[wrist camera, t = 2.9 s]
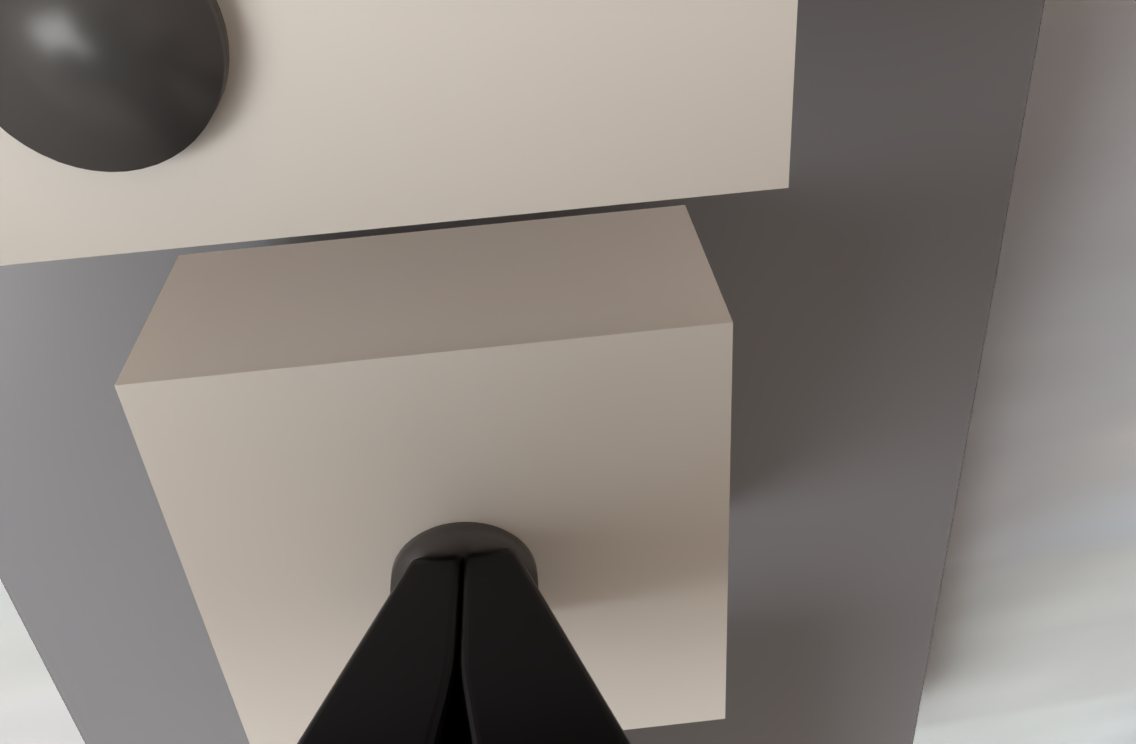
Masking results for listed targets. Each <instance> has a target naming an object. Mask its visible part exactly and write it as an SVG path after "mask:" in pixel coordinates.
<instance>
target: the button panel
mask: <svg viewBox="0 0 1136 744" xmlns="http://www.w3.org/2000/svg"><path fill="white" fill-rule="evenodd" d="M1044 1H1045V0H798V7H797V27H796V47H795V67H794V87H793V107H792V127H791V147H790V167H789V187H788V188H782V189H771V190H761V191H751V192H741V193H731V194H721V195H711V196H701V197H691V198H680V199H670V200H660V201H650V202H640V203H630V204H620V205H610V206H600V207H589V208H579V209H569V210H559V211H549V212H539V213H529V214H519V215H509V216H498V217H488V218H478V219H468V220H458V221H448V222H438V223H428V224H418V225H407V226H397V227H387V228H377V229H367V230H357V231H347V232H337V233H327V234H316V235H306V236H296V237H286V238H276V239H266V240H256V241H246V242H236V243H225V244H215V245H205V246H195V247H185V248H175V249H165V250H155V251H145V252H134V253H124V254H114V255H104V256H94V257H84V258H74V259H64V260H54V261H43V262H33V263H23V264H13V265H3V266H0V579H1V581H2V583H3V585H4V587H5V589H6V591H7V593H8V594H9V596H10V598H11V600H12V602H13V604H14V606H15V608H16V610H17V612H18V614H19V616H20V618H21V620H22V622H23V624H24V626H25V627H26V629H27V631H28V633H29V635H30V637H31V639H32V641H33V643H34V645H35V647H36V649H37V651H38V653H39V655H40V657H41V658H42V660H43V662H44V664H45V666H46V668H47V670H48V672H49V674H50V676H51V678H52V680H53V682H54V684H55V686H56V688H57V690H58V691H59V693H60V695H61V697H62V699H63V701H64V703H65V705H66V707H67V709H68V711H69V713H70V715H71V717H72V719H73V721H74V722H75V724H76V726H77V728H78V730H79V732H80V734H81V736H82V738H83V740H84V742H85V744H250V743H249V740H248V738H247V735H246V733H245V730H244V727H243V725H242V722H241V719H240V717H239V714H238V711H237V709H236V706H235V703H234V701H233V698H232V696H231V693H230V690H229V688H228V685H227V682H226V680H225V677H224V674H223V672H222V669H221V666H220V664H219V661H218V658H217V656H216V653H215V651H214V648H213V645H212V643H211V640H210V637H209V635H208V632H207V629H206V627H205V624H204V621H203V619H202V616H201V614H200V611H199V608H198V606H197V603H196V600H195V598H194V595H193V592H192V590H191V587H190V584H189V582H188V579H187V576H186V574H185V571H184V569H183V566H182V563H181V561H180V558H179V555H178V553H177V550H176V547H175V545H174V542H173V539H172V537H171V534H170V532H169V529H168V526H167V524H166V521H165V518H164V516H163V513H162V510H161V508H160V505H159V502H158V500H157V497H156V494H155V492H154V489H153V487H152V484H151V481H150V479H149V476H148V473H147V471H146V468H145V465H144V463H143V460H142V457H141V455H140V452H139V450H138V447H137V444H136V442H135V439H134V436H133V434H132V431H131V428H130V426H129V423H128V420H127V418H126V415H125V412H124V410H123V407H122V405H121V402H120V399H119V397H118V394H117V391H116V389H115V386H114V385H115V383H116V381H117V379H118V377H119V375H120V373H121V371H122V369H123V367H124V365H125V363H126V361H127V359H128V357H129V355H130V353H131V351H132V349H133V347H134V345H135V343H136V341H137V339H138V337H139V335H140V333H141V331H142V329H143V327H144V325H145V323H146V321H147V319H148V317H149V315H150V313H151V310H152V308H153V306H154V304H155V302H156V300H157V298H158V296H159V294H160V292H161V290H162V288H163V286H164V284H165V282H166V280H167V278H168V276H169V274H170V272H171V270H172V268H173V266H174V264H175V262H176V260H177V258H178V256H179V255H185V254H195V253H205V252H215V251H225V250H235V249H245V248H255V247H265V246H275V245H285V244H296V243H306V242H316V241H326V240H336V239H346V238H356V237H366V236H376V235H386V234H396V233H407V232H417V231H427V230H437V229H447V228H457V227H467V226H477V225H487V224H497V223H508V222H518V221H528V220H538V219H548V218H558V217H568V216H578V215H588V214H598V213H608V212H619V211H629V210H639V209H649V208H659V207H669V206H679V205H685V206H686V208H687V211H688V213H689V216H690V218H691V221H692V223H693V226H694V228H695V230H696V233H697V235H698V238H699V240H700V243H701V245H702V248H703V250H704V253H705V255H706V257H707V260H708V262H709V265H710V267H711V270H712V272H713V275H714V277H715V279H716V282H717V284H718V287H719V289H720V292H721V294H722V297H723V299H724V301H725V304H726V306H727V309H728V311H729V314H730V316H731V319H732V321H733V349H732V399H731V449H730V499H729V550H728V600H727V650H726V701H725V719H718V720H709V721H700V722H691V723H682V724H673V725H664V726H655V727H646V728H637V729H629V730H623V731H624V733H625V734H626V736H627V738H628V739H629V741H630V743H631V744H913V740H914V734H915V728H916V723H917V717H918V711H919V706H920V700H921V694H922V689H923V683H924V678H925V672H926V666H927V661H928V655H929V649H930V644H931V638H932V632H933V627H934V621H935V616H936V610H937V604H938V599H939V593H940V587H941V582H942V576H943V570H944V565H945V559H946V554H947V548H948V542H949V537H950V531H951V525H952V520H953V514H954V509H955V503H956V497H957V492H958V486H959V480H960V475H961V469H962V463H963V458H964V452H965V447H966V441H967V435H968V430H969V424H970V418H971V413H972V407H973V401H974V396H975V390H976V385H977V379H978V373H979V368H980V362H981V356H982V351H983V345H984V340H985V334H986V328H987V323H988V317H989V311H990V306H991V300H992V294H993V289H994V283H995V278H996V272H997V266H998V261H999V255H1000V249H1001V244H1002V238H1003V232H1004V227H1005V221H1006V216H1007V210H1008V204H1009V199H1010V193H1011V187H1012V182H1013V176H1014V170H1015V165H1016V159H1017V154H1018V148H1019V142H1020V137H1021V131H1022V125H1023V120H1024V114H1025V109H1026V103H1027V97H1028V92H1029V86H1030V80H1031V75H1032V69H1033V63H1034V58H1035V52H1036V47H1037V41H1038V35H1039V30H1040V24H1041V18H1042V13H1043V7H1044Z"/></svg>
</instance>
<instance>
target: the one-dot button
mask: <svg viewBox="0 0 1136 744" xmlns="http://www.w3.org/2000/svg"><path fill="white" fill-rule="evenodd" d="M732 349H733V321H732V319H731V316H730V314H729V311H728V309H727V306H726V304H725V301H724V299H723V297H722V294H721V292H720V289H719V287H718V284H717V282H716V279H715V277H714V275H713V272H712V270H711V267H710V265H709V262H708V260H707V257H706V255H705V253H704V250H703V248H702V245H701V243H700V240H699V238H698V235H697V233H696V230H695V228H694V226H693V223H692V221H691V218H690V216H689V213H688V211H687V208H686V206H685V205H679V206H669V207H659V208H649V209H639V210H629V211H619V212H608V213H598V214H588V215H578V216H568V217H558V218H548V219H538V220H528V221H518V222H508V223H497V224H487V225H477V226H467V227H457V228H447V229H437V230H427V231H417V232H407V233H396V234H386V235H376V236H366V237H356V238H346V239H336V240H326V241H316V242H306V243H296V244H285V245H275V246H265V247H255V248H245V249H235V250H225V251H215V252H205V253H195V254H185V255H179V256H178V258H177V260H176V262H175V264H174V266H173V268H172V270H171V272H170V274H169V276H168V278H167V280H166V282H165V284H164V286H163V288H162V290H161V292H160V294H159V296H158V298H157V300H156V302H155V304H154V306H153V308H152V310H151V313H150V315H149V317H148V319H147V321H146V323H145V325H144V327H143V329H142V331H141V333H140V335H139V337H138V339H137V341H136V343H135V345H134V347H133V349H132V351H131V353H130V355H129V357H128V359H127V361H126V363H125V365H124V367H123V369H122V371H121V373H120V375H119V377H118V379H117V381H116V383H115V385H114V386H115V389H116V391H117V394H118V397H119V399H120V402H121V405H122V407H123V410H124V412H125V415H126V418H127V420H128V423H129V426H130V428H131V431H132V434H133V436H134V439H135V442H136V444H137V447H138V450H139V452H140V455H141V457H142V460H143V463H144V465H145V468H146V471H147V473H148V476H149V479H150V481H151V484H152V487H153V489H154V492H155V494H156V497H157V500H158V502H159V505H160V508H161V510H162V513H163V516H164V518H165V521H166V524H167V526H168V529H169V532H170V534H171V537H172V539H173V542H174V545H175V547H176V550H177V553H178V555H179V558H180V561H181V563H182V566H183V569H184V571H185V574H186V576H187V579H188V582H189V584H190V587H191V590H192V592H193V595H194V598H195V600H196V603H197V606H198V608H199V611H200V614H201V616H202V619H203V621H204V624H205V627H206V629H207V632H208V635H209V637H210V640H211V643H212V645H213V648H214V651H215V653H216V656H217V658H218V661H219V664H220V666H221V669H222V672H223V674H224V677H225V680H226V682H227V685H228V688H229V690H230V693H231V696H232V698H233V701H234V703H235V706H236V709H237V711H238V714H239V717H240V719H241V722H242V725H243V727H244V730H245V733H246V735H247V738H248V740H249V743H250V744H297V743H298V741H299V740H300V738H301V736H302V735H303V733H304V732H305V730H306V728H307V727H308V725H309V723H310V722H311V720H312V719H313V717H314V715H315V714H316V712H317V711H318V709H319V707H320V706H321V704H322V703H323V701H324V699H325V698H326V696H327V695H328V693H329V691H330V690H331V688H332V686H333V685H334V683H335V682H336V680H337V678H338V677H339V675H340V674H341V672H342V670H343V669H344V667H345V666H346V664H347V662H348V661H349V659H350V658H351V656H352V654H353V653H354V651H355V649H356V648H357V646H358V645H359V643H360V641H361V640H362V638H363V637H364V635H365V633H366V632H367V630H368V629H369V627H370V625H371V624H372V622H373V621H374V619H375V617H376V616H377V614H378V613H379V611H380V609H381V608H382V606H383V604H384V603H385V601H386V600H387V598H388V596H389V595H390V593H391V592H392V590H393V588H394V587H395V585H396V584H397V582H398V580H399V579H400V577H401V576H402V574H403V572H404V571H405V569H406V567H407V566H408V565H409V563H410V562H411V561H413V560H414V559H416V558H421V557H431V556H440V555H449V554H457V555H459V556H460V557H461V558H462V559H463V560H464V559H465V557H466V555H468V554H469V553H471V552H477V551H486V550H496V549H505V548H510V549H512V550H514V551H515V552H516V553H517V554H518V555H519V557H520V558H521V560H522V562H523V564H524V565H525V567H526V569H527V570H528V572H529V574H530V575H531V577H532V579H533V580H534V582H535V584H536V585H537V587H538V589H539V590H540V592H541V594H542V595H543V597H544V599H545V600H546V602H547V604H548V605H549V607H550V609H551V610H552V612H553V614H554V615H555V617H556V619H557V620H558V622H559V624H560V625H561V627H562V629H563V630H564V632H565V634H566V635H567V637H568V639H569V641H570V642H571V644H572V646H573V647H574V649H575V651H576V652H577V654H578V656H579V657H580V659H581V661H582V662H583V664H584V666H585V667H586V669H587V671H588V672H589V674H590V676H591V677H592V679H593V681H594V682H595V684H596V686H597V687H598V689H599V691H600V692H601V694H602V696H603V697H604V699H605V701H606V702H607V704H608V706H609V707H610V709H611V711H612V713H613V714H614V716H615V718H616V719H617V721H618V723H619V724H620V726H621V728H622V729H623V730H629V729H637V728H646V727H655V726H664V725H673V724H682V723H691V722H700V721H709V720H718V719H725V701H726V650H727V600H728V550H729V499H730V449H731V399H732Z"/></svg>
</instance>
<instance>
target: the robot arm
mask: <svg viewBox="0 0 1136 744" xmlns="http://www.w3.org/2000/svg"><path fill="white" fill-rule="evenodd" d="M297 744H631V743H630V741H629V739H628V738H627V736H626V734H625V733H624V731H623V729H622V728H621V726H620V724H619V723H618V721H617V719H616V718H615V716H614V714H613V713H612V711H611V709H610V707H609V706H608V704H607V702H606V701H605V699H604V697H603V696H602V694H601V692H600V691H599V689H598V687H597V686H596V684H595V682H594V681H593V679H592V677H591V676H590V674H589V672H588V671H587V669H586V667H585V666H584V664H583V662H582V661H581V659H580V657H579V656H578V654H577V652H576V651H575V649H574V647H573V646H572V644H571V642H570V641H569V639H568V637H567V635H566V634H565V632H564V630H563V629H562V627H561V625H560V624H559V622H558V620H557V619H556V617H555V615H554V614H553V612H552V610H551V609H550V607H549V605H548V604H547V602H546V600H545V599H544V597H543V595H542V594H541V592H540V590H539V589H538V587H537V585H536V584H535V582H534V580H533V579H532V577H531V575H530V574H529V572H528V570H527V569H526V567H525V565H524V564H523V562H522V560H521V558H520V557H519V555H518V554H517V553H516V552H515V551H514V550H512V549H510V548H505V549H496V550H486V551H477V552H471V553H469V554H468V555H466V557H465V559H464V560H463V559H462V558H461V557H460V556H459V555H457V554H449V555H440V556H431V557H421V558H416V559H414V560H413V561H411V562H410V563H409V565H408V566H407V567H406V569H405V571H404V572H403V574H402V576H401V577H400V579H399V580H398V582H397V584H396V585H395V587H394V588H393V590H392V592H391V593H390V595H389V596H388V598H387V600H386V601H385V603H384V604H383V606H382V608H381V609H380V611H379V613H378V614H377V616H376V617H375V619H374V621H373V622H372V624H371V625H370V627H369V629H368V630H367V632H366V633H365V635H364V637H363V638H362V640H361V641H360V643H359V645H358V646H357V648H356V649H355V651H354V653H353V654H352V656H351V658H350V659H349V661H348V662H347V664H346V666H345V667H344V669H343V670H342V672H341V674H340V675H339V677H338V678H337V680H336V682H335V683H334V685H333V686H332V688H331V690H330V691H329V693H328V695H327V696H326V698H325V699H324V701H323V703H322V704H321V706H320V707H319V709H318V711H317V712H316V714H315V715H314V717H313V719H312V720H311V722H310V723H309V725H308V727H307V728H306V730H305V732H304V733H303V735H302V736H301V738H300V740H299V741H298V743H297Z"/></svg>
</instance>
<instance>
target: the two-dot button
mask: <svg viewBox="0 0 1136 744" xmlns="http://www.w3.org/2000/svg"><path fill="white" fill-rule="evenodd" d="M797 7H798V0H0V266H3V265H13V264H23V263H33V262H43V261H54V260H64V259H74V258H84V257H94V256H104V255H114V254H124V253H134V252H145V251H155V250H165V249H175V248H185V247H195V246H205V245H215V244H225V243H236V242H246V241H256V240H266V239H276V238H286V237H296V236H306V235H316V234H327V233H337V232H347V231H357V230H367V229H377V228H387V227H397V226H407V225H418V224H428V223H438V222H448V221H458V220H468V219H478V218H488V217H498V216H509V215H519V214H529V213H539V212H549V211H559V210H569V209H579V208H589V207H600V206H610V205H620V204H630V203H640V202H650V201H660V200H670V199H680V198H691V197H701V196H711V195H721V194H731V193H741V192H751V191H761V190H771V189H782V188H788V187H789V167H790V147H791V127H792V107H793V87H794V67H795V47H796V27H797Z"/></svg>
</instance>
